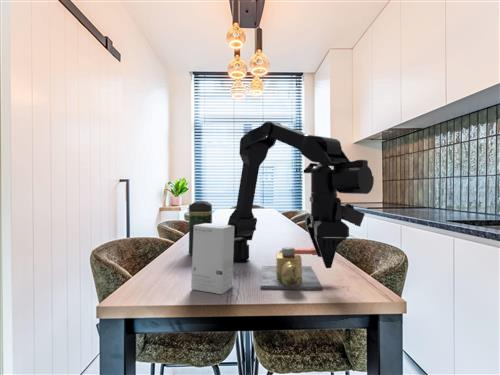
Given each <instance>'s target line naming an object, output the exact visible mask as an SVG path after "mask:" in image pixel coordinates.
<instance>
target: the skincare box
mask: <svg viewBox="0 0 500 375" xmlns="http://www.w3.org/2000/svg"><path fill="white" fill-rule="evenodd" d="M233 253H234V226H231V225H228V224H221V223H212V224H211V223H204V224H199V225H194V230H193V255H192V256H191V257H192V260H191V261H192V262H191V263H192V264H191V283H190V288H191V290H193V291H199V292H204V293H212V294H217V295H223V294H225V292H227V291H229V290H230V289H231V288H232V287H233V275H234V273H233V272H234V262H233Z"/></svg>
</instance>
